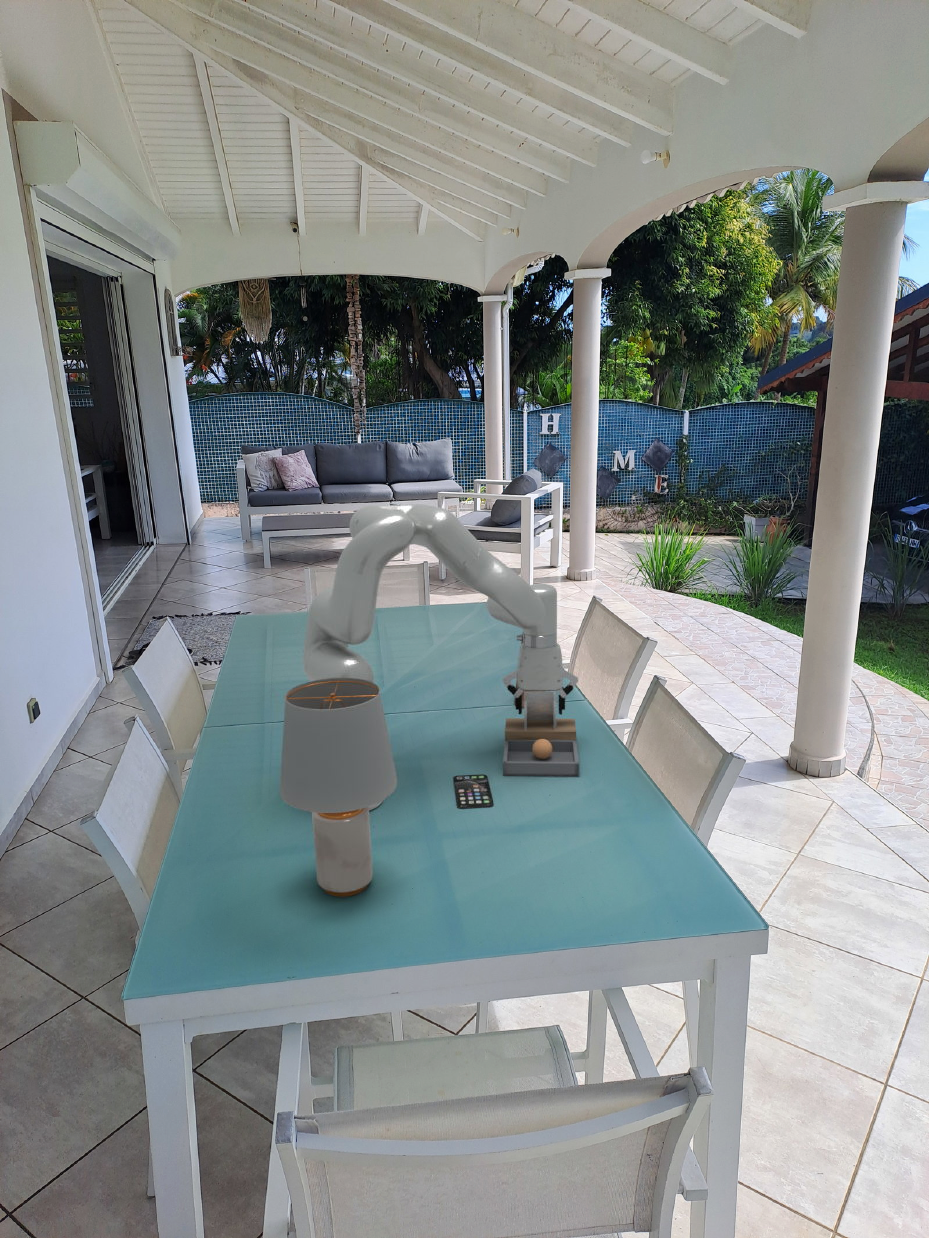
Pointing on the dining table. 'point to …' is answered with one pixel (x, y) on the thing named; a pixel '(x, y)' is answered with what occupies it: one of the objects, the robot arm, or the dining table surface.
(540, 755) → the ball
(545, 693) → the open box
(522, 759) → the tray
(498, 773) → the dining table surface
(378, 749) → the lamp
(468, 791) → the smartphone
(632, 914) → the dining table surface
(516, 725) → the ledge
